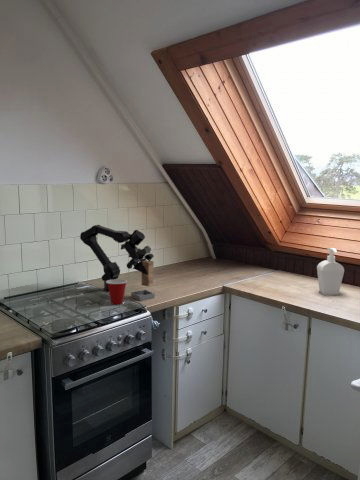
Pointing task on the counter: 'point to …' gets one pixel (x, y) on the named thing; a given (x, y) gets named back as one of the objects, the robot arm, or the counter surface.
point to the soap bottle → (330, 275)
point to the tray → (142, 295)
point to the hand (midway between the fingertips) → (149, 273)
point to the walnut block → (147, 279)
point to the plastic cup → (116, 290)
